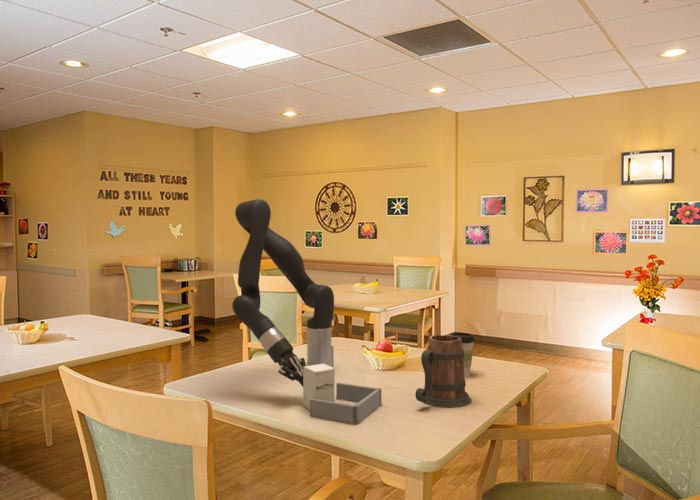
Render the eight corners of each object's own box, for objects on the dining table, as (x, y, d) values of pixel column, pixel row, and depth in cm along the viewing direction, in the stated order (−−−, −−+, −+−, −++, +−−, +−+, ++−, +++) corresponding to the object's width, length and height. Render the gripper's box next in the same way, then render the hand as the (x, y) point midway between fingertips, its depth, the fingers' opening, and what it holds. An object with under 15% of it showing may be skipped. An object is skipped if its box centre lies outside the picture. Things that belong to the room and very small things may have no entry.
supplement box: (314, 413, 160) (313, 371, 159) (302, 406, 166) (302, 366, 165) (335, 408, 164) (335, 368, 163) (323, 401, 170) (323, 362, 169)
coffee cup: (445, 377, 196) (445, 336, 196) (450, 370, 206) (450, 331, 205) (472, 380, 193) (472, 338, 192) (476, 372, 202) (476, 333, 201)
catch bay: (309, 416, 158) (309, 399, 157) (338, 397, 174) (338, 382, 174) (356, 424, 151) (356, 407, 151) (381, 404, 168) (381, 388, 167)
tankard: (437, 387, 184) (437, 330, 183) (481, 398, 173) (482, 337, 172) (395, 405, 167) (396, 341, 166) (442, 418, 156) (442, 350, 155)
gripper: (270, 341, 165) (305, 386, 161) (293, 333, 177) (326, 374, 172) (256, 356, 168) (290, 400, 163) (280, 347, 180) (312, 388, 175)
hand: (308, 387), depth 168 cm, fingers closed
